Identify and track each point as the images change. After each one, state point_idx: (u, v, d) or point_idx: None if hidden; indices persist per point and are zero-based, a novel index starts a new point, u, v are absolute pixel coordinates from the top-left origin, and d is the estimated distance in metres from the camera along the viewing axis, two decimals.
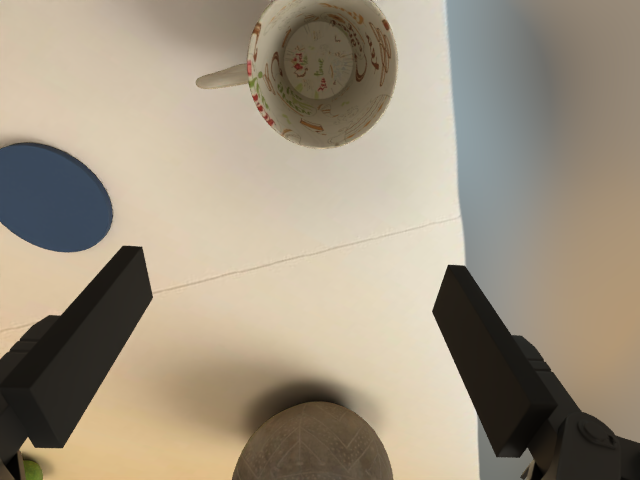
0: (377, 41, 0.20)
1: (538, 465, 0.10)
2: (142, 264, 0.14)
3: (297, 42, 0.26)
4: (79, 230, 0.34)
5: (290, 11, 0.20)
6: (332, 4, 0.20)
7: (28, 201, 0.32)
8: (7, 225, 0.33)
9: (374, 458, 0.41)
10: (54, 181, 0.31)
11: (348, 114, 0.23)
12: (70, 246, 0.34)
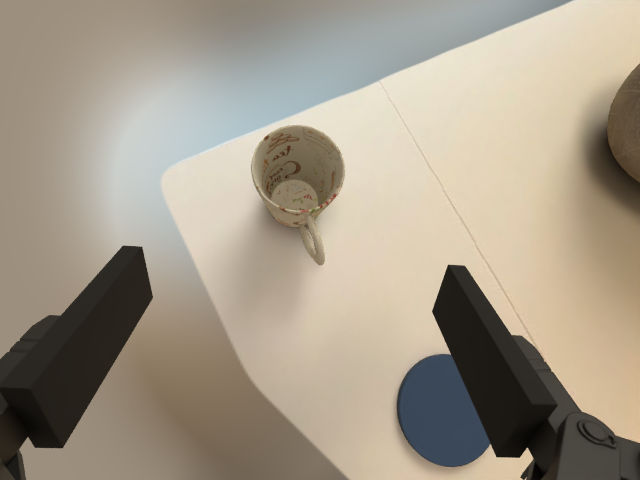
0: (275, 148, 0.33)
1: (538, 465, 0.10)
2: (142, 264, 0.14)
3: None
4: None
5: None
6: (261, 181, 0.33)
7: (451, 425, 0.36)
8: (481, 450, 0.36)
9: None
10: (426, 398, 0.36)
11: (320, 161, 0.35)
12: None
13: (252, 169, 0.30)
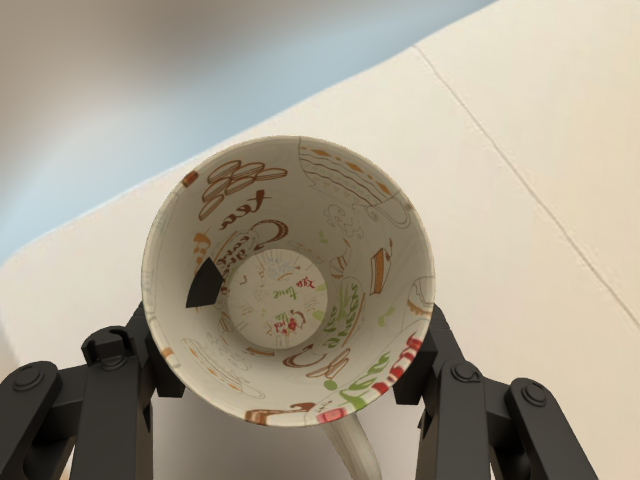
0: (224, 200, 0.12)
1: (428, 413, 0.11)
2: None
3: (262, 334, 0.18)
4: None
5: (218, 356, 0.11)
6: None
7: None
8: None
9: None
10: None
11: (340, 220, 0.14)
12: None
13: (146, 291, 0.09)
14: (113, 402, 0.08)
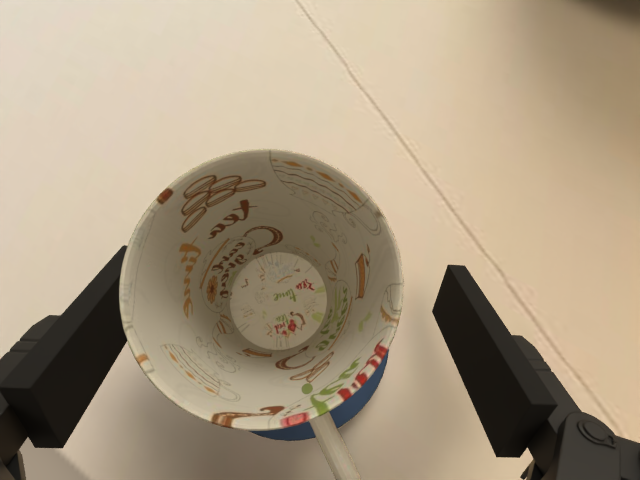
0: (207, 212, 0.13)
1: (538, 465, 0.10)
2: None
3: (262, 335, 0.19)
4: None
5: (203, 359, 0.12)
6: (182, 297, 0.13)
7: None
8: (358, 404, 0.19)
9: None
10: None
11: (325, 226, 0.14)
12: None
13: (123, 302, 0.10)
14: None
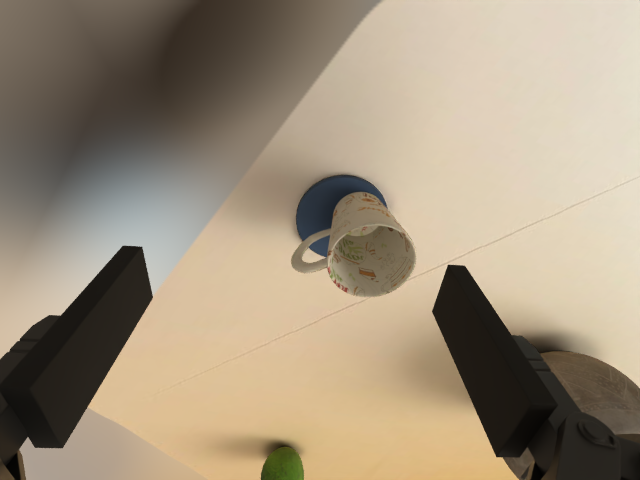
0: None
1: (538, 465, 0.10)
2: (142, 264, 0.14)
3: None
4: None
5: None
6: None
7: (329, 222, 0.41)
8: (310, 245, 0.42)
9: (636, 388, 0.45)
10: None
11: (388, 259, 0.36)
12: None
13: (368, 225, 0.30)
14: None
